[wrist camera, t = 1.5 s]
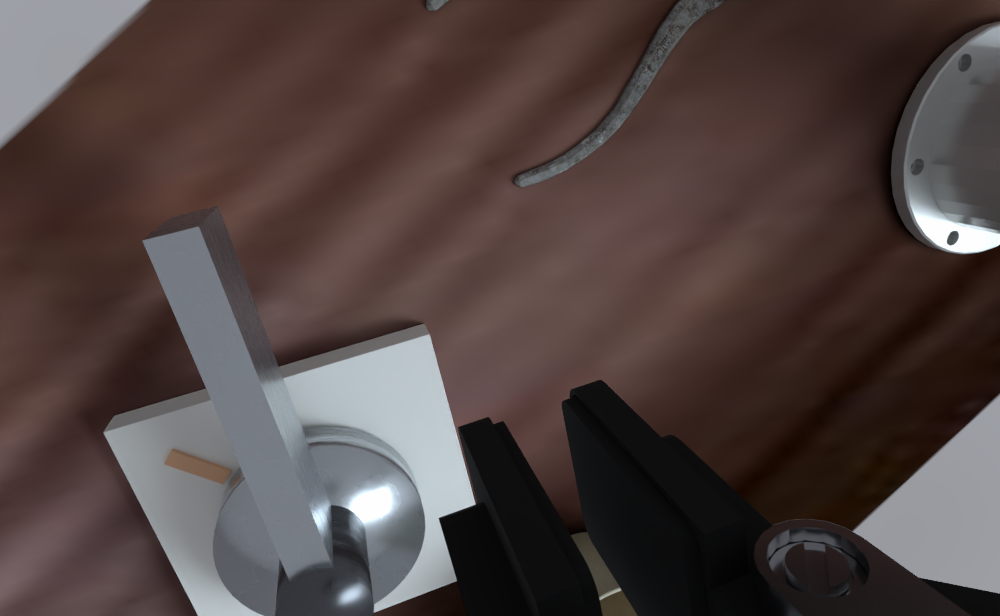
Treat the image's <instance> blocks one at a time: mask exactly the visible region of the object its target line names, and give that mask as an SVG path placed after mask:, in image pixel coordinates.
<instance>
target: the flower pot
mask: <svg viewBox="0 0 1000 616" xmlns="http://www.w3.org/2000/svg"><path fill="white" fill-rule="evenodd" d="M571 537H572V538H573V540H574V542H575V544H576V545H577V547H578V549H579V550H580V552H581V554H582V555H583V557H584V559H585V561H586V563H587V565H588V567H589V569H590V571H591V573H592V576H593V579H594V581H595V584H596V587H597V591H598V595H599V599H600V604H601V609H602V614H603V616H638V615H637V614H636V612H635V611H634V609H633V607H632V606H631V604H630V603H629V601H628V599H627V598H626V596H625V595H624V593H623V591H622V590H621V588H620V587H619V585H618V584H617V582H616V580H615V579H614V577H613V576H612V574H611V572H610V571H609V569H608V568H607V566H606V564H605V563H604V561H603V560H602V558H601V556H600V555H599V553H598V552H597V550H596V548H595V547H594V545H593V544H592V542H591V540H590V538H589V535H588V533H587V532H581V533H576V534H573V535H571Z"/></svg>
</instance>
